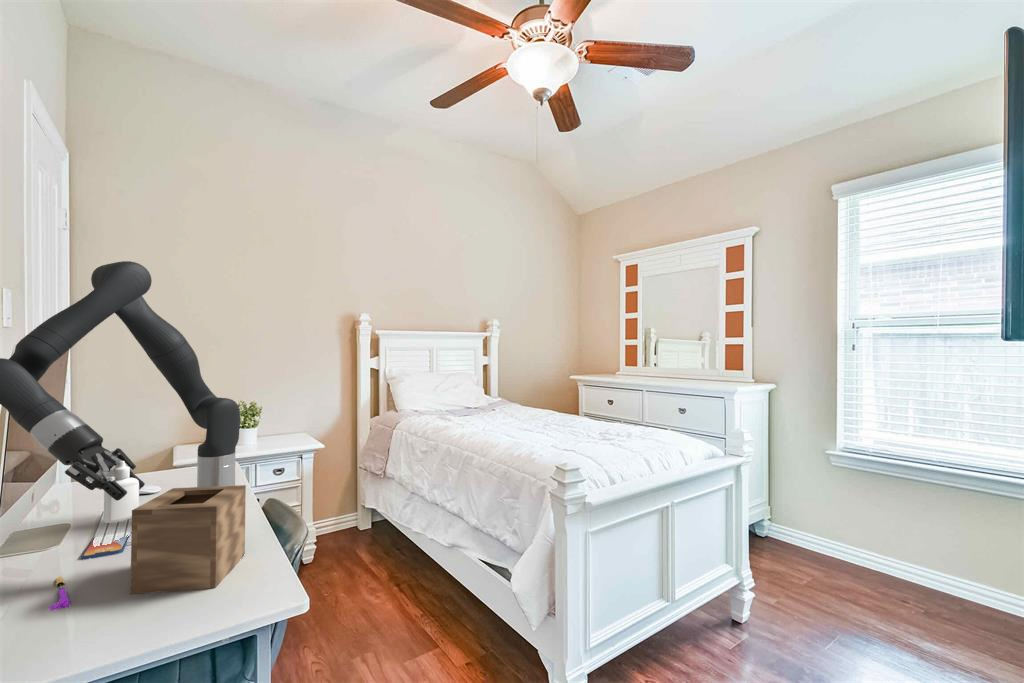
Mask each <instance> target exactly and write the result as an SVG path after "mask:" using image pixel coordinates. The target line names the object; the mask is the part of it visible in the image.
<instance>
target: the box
mask: <svg viewBox="0 0 1024 683" xmlns="http://www.w3.org/2000/svg"><path fill="white" fill-rule="evenodd" d="M246 487H247V486H246V485H244V484H243V485H241V484H240V485H235V486H215V487H197V486H193V487H192V486H191V487H173V488H171V489H169V490H168V491H165V492H164V493H162V494H160V495H157V496H156V497H154V498H152V499H150V500H148V501H147V502H145V503H143V504H141V505H139V507H137V508H135V509H134V510H132V518H131V535H130V537H131V538H130V540H131V541H130V542H131V544H130V545H131V546H130V587H129V588H130V589H129V590H130V592H129V594H130V595H134V594H135V595H137V594H151V593H163V592H175V591H176V592H178V591H191V590H194V591H195V590H204V589H216V588H217V587H218V586H219V585H220V584H221V583H222V581H223V580H224V579H225V578H226V577H227V576H228V575H229V574H230V572H231V571H232V570H233V569H234V568H235V567H236V566H237V565H238V564H239V563H240V562H241V560H242V559H243V558H244V557H245V556H244V554H246V553H245V552H246V496H247V494H246V492H247V491H246V490H247V489H246ZM243 556H244V557H243ZM242 557H243V558H242ZM241 558H242V559H241ZM240 559H241V560H240ZM237 563H238V564H237ZM236 564H237V565H236ZM235 565H236V566H235Z"/></svg>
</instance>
